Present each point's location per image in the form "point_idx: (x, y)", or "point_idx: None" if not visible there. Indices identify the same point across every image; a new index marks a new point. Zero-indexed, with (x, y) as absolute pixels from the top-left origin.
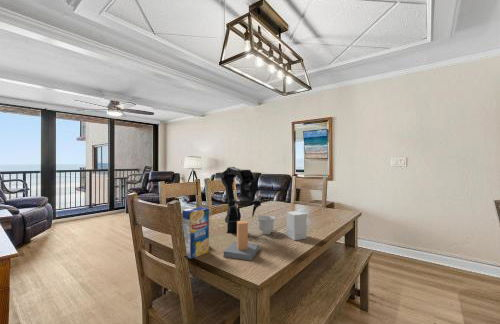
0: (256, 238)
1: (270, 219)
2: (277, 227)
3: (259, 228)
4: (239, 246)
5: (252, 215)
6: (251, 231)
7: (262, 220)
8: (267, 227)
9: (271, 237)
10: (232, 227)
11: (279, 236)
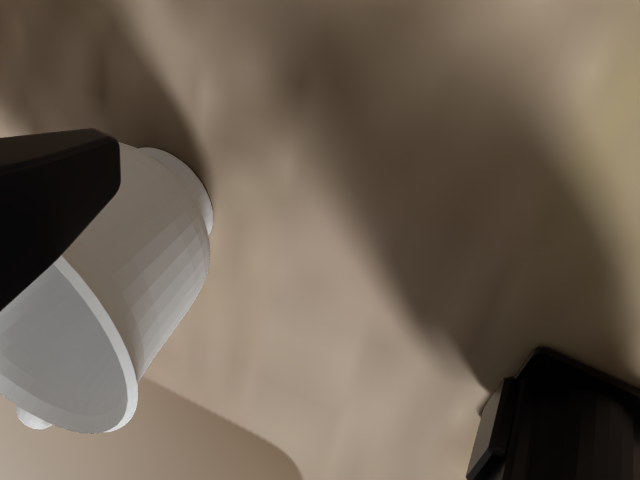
0: (311, 29)
1: (8, 319)
2: None
3: (204, 247)
4: None
5: (49, 152)
6: (323, 314)
7: None
8: None
9: (112, 12)
10: (599, 446)
11: (27, 23)
